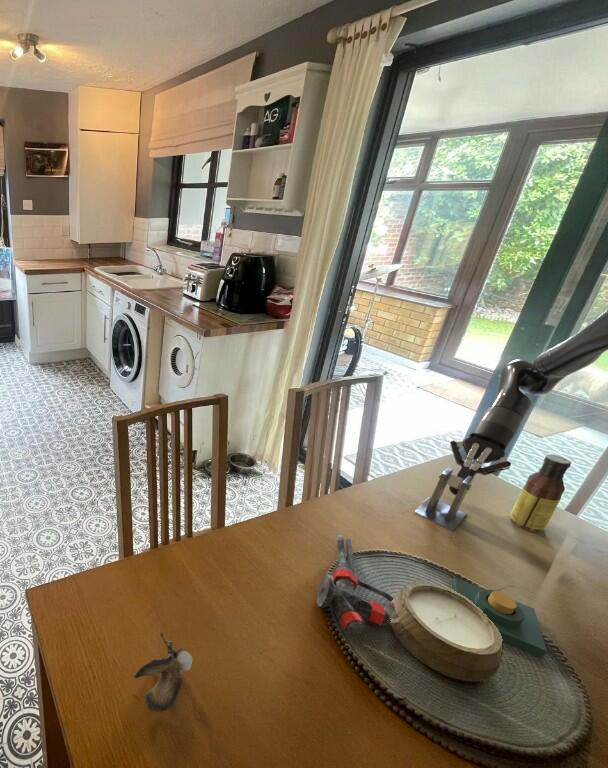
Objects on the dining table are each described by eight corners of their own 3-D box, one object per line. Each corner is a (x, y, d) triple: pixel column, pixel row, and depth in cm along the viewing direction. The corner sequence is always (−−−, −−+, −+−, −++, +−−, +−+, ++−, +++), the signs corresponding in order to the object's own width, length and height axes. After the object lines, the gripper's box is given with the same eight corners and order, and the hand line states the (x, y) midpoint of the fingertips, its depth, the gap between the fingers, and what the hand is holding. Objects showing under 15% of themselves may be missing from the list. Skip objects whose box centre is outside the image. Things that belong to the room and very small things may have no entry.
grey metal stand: (428, 500, 109) (445, 460, 104) (465, 517, 104) (485, 476, 98) (412, 515, 104) (430, 474, 99) (450, 534, 98) (471, 492, 93)
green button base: (528, 615, 79) (538, 601, 78) (541, 659, 72) (552, 644, 70) (450, 584, 86) (457, 571, 84) (454, 621, 78) (462, 607, 76)
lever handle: (446, 492, 109) (453, 480, 109) (463, 499, 107) (470, 487, 106) (441, 483, 100) (449, 470, 100) (460, 491, 97) (467, 477, 97)
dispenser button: (510, 603, 78) (514, 597, 77) (514, 618, 75) (518, 612, 74) (486, 594, 79) (489, 587, 79) (488, 608, 77) (492, 601, 76)
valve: (405, 671, 71) (314, 626, 76) (383, 567, 93) (314, 537, 98) (424, 649, 69) (328, 604, 74) (397, 547, 90) (324, 517, 95)
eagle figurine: (146, 639, 73) (122, 677, 66) (172, 623, 70) (150, 663, 62) (176, 677, 71) (155, 722, 64) (204, 664, 68) (185, 709, 60)
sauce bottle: (544, 529, 100) (586, 462, 92) (537, 539, 97) (580, 471, 89) (509, 513, 105) (545, 448, 97) (501, 523, 102) (538, 457, 94)
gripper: (465, 411, 110) (431, 464, 109) (532, 433, 100) (495, 491, 99) (464, 423, 115) (431, 473, 114) (528, 444, 105) (493, 500, 104)
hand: (461, 481), depth 106 cm, fingers closed
